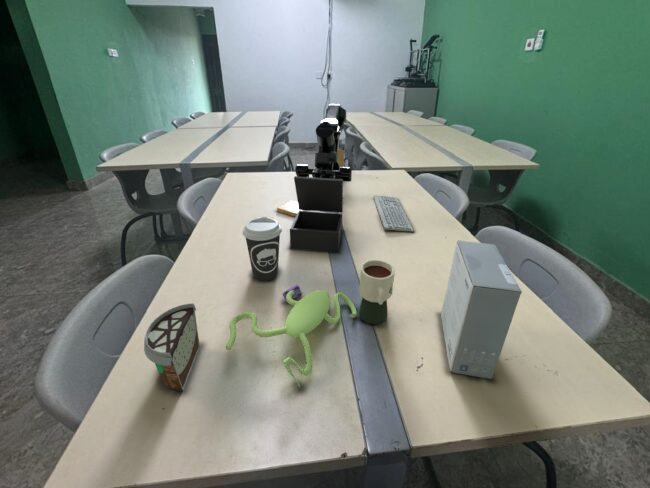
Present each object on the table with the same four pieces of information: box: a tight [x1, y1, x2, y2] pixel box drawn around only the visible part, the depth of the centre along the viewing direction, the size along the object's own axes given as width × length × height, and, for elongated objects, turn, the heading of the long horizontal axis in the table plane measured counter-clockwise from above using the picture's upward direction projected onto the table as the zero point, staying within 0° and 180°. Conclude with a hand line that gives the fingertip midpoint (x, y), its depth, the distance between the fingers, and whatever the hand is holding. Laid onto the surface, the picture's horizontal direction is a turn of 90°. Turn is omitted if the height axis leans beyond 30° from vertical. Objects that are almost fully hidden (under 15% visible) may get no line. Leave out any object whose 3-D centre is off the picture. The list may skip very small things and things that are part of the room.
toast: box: [276, 199, 308, 218], centre depth 121 cm, size 9×9×2 cm
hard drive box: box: [440, 240, 523, 380], centre depth 61 cm, size 16×8×20 cm, turn 170°
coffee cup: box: [242, 216, 283, 282], centre depth 81 cm, size 10×10×15 cm
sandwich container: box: [337, 149, 346, 168], centre depth 160 cm, size 9×15×15 cm, turn 172°
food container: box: [143, 303, 201, 392], centre depth 56 cm, size 12×6×10 cm, turn 5°
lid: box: [293, 175, 344, 214], centre depth 99 cm, size 15×15×1 cm
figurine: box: [225, 283, 358, 388], centre depth 66 cm, size 18×27×6 cm
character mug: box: [358, 259, 396, 325], centre depth 68 cm, size 11×7×13 cm, turn 4°
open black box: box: [289, 210, 344, 254], centre depth 100 cm, size 14×15×7 cm
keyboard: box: [372, 194, 415, 233], centre depth 121 cm, size 29×10×2 cm, turn 1°
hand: (321, 196), depth 103 cm, fingers closed
